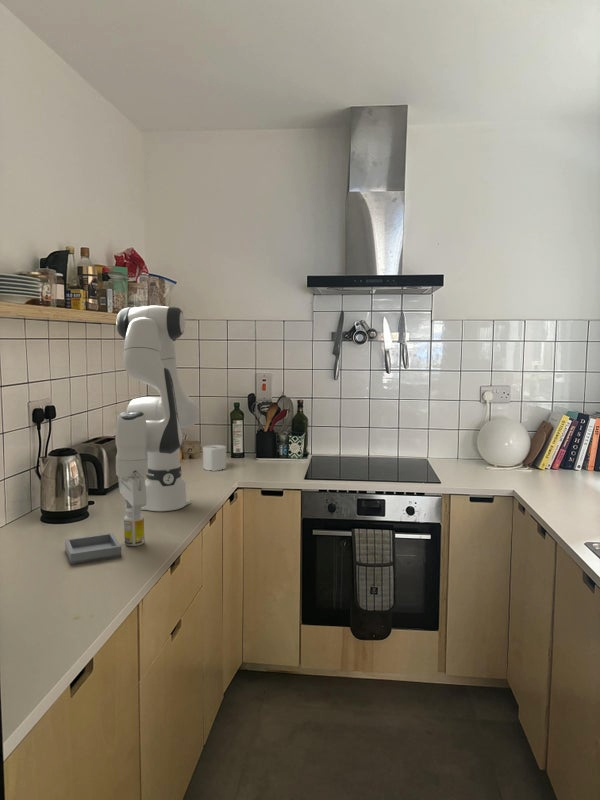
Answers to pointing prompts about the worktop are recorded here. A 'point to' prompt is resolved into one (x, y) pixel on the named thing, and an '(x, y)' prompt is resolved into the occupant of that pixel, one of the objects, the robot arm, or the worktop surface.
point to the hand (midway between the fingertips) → (132, 515)
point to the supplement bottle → (133, 529)
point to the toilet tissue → (214, 457)
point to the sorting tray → (92, 548)
